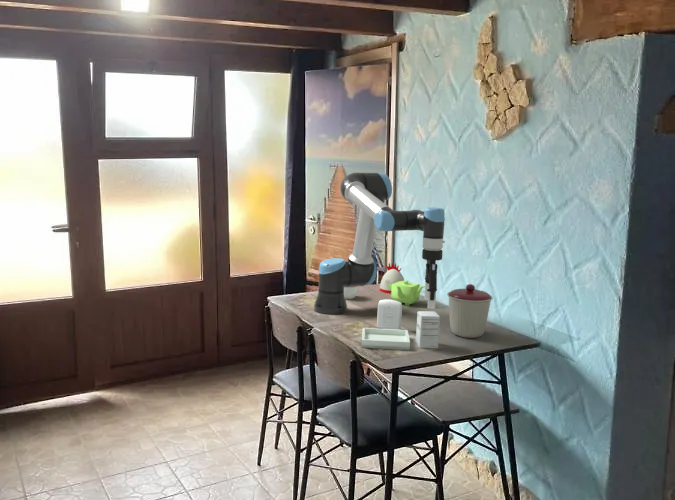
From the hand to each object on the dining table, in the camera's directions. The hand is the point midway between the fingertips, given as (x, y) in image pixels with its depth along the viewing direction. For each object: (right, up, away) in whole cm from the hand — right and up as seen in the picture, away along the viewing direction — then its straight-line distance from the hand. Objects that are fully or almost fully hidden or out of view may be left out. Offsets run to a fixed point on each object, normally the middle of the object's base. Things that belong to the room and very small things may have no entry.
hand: (429, 304), depth 240 cm
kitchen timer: (-6, -1, +92) cm, 92 cm away
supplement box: (-1, -16, +3) cm, 17 cm away
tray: (-17, -15, +5) cm, 23 cm away
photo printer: (-14, -12, +23) cm, 30 cm away
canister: (+18, -14, +19) cm, 30 cm away
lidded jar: (-30, -3, +73) cm, 79 cm away
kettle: (-2, -6, +66) cm, 67 cm away
